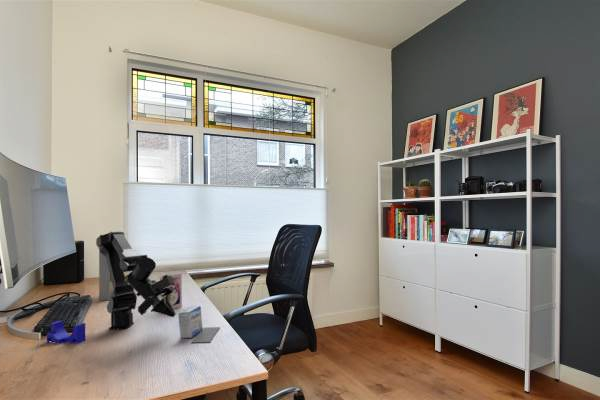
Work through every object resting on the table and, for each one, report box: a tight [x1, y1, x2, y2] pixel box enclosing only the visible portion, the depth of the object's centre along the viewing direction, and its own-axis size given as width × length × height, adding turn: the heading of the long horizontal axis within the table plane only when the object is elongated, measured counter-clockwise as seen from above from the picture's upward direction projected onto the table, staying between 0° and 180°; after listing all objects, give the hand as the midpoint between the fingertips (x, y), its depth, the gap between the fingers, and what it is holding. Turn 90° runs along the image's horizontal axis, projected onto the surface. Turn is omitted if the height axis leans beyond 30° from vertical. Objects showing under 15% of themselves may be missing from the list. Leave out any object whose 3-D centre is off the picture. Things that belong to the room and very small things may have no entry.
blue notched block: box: [46, 320, 86, 345], centre depth 114 cm, size 12×4×6 cm, turn 72°
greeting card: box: [159, 272, 183, 310], centre depth 152 cm, size 11×7×15 cm, turn 148°
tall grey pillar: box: [98, 250, 121, 301], centre depth 176 cm, size 14×6×25 cm, turn 179°
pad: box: [191, 326, 221, 344], centre depth 117 cm, size 6×14×1 cm, turn 0°
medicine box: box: [177, 305, 204, 339], centre depth 118 cm, size 8×4×9 cm, turn 168°
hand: (174, 315), depth 118 cm, fingers closed
